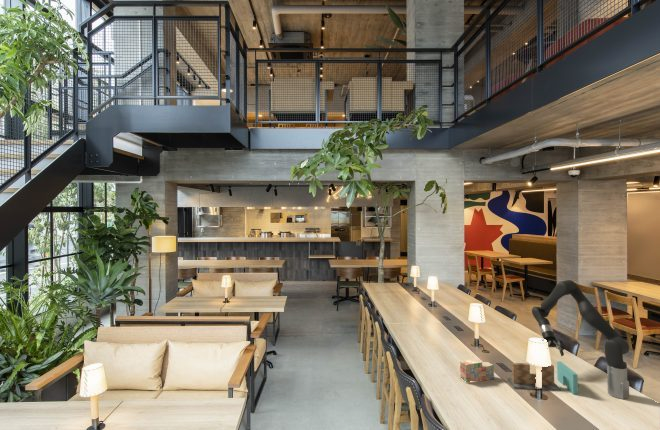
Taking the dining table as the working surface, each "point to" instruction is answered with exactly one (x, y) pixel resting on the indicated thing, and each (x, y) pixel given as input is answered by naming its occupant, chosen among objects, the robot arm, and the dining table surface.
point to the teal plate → (567, 377)
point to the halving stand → (531, 377)
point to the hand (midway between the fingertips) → (555, 355)
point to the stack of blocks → (476, 370)
